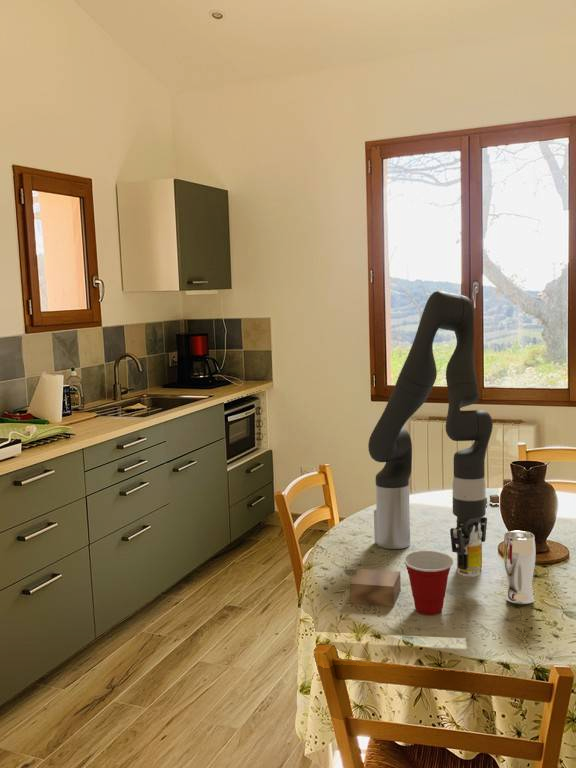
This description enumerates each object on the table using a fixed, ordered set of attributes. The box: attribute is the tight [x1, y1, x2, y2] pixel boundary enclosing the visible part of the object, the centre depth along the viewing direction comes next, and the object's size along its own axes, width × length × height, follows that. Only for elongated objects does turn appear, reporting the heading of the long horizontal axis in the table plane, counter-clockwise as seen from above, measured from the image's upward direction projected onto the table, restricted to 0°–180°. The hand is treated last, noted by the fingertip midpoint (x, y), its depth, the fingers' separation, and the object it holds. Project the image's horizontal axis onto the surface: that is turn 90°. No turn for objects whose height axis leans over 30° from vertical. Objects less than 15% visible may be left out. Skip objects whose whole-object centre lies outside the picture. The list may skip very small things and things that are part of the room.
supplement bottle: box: [456, 531, 482, 578], centre depth 177 cm, size 6×6×10 cm
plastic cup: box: [402, 549, 454, 616], centre depth 166 cm, size 11×11×12 cm
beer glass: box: [503, 530, 537, 605], centre depth 170 cm, size 7×7×15 cm
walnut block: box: [349, 568, 402, 608], centre depth 175 cm, size 10×10×5 cm
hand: (469, 564), depth 177 cm, fingers closed on supplement bottle, 5 cm apart
